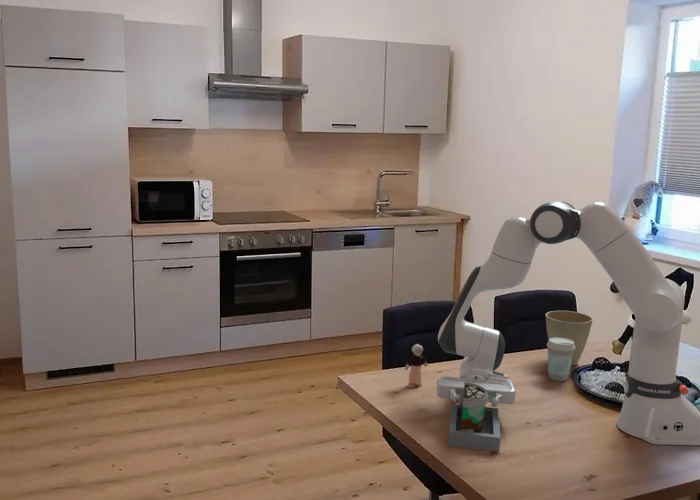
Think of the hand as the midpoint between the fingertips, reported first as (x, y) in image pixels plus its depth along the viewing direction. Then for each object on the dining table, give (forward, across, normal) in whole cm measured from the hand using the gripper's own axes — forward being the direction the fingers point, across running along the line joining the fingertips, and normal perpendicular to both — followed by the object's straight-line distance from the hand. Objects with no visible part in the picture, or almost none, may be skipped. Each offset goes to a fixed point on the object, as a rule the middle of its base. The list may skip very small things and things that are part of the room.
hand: (475, 401), depth 172 cm
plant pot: (-62, +30, +8) cm, 69 cm away
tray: (+2, 0, +8) cm, 8 cm away
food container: (+2, 0, +7) cm, 7 cm away
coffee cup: (-46, +26, +8) cm, 53 cm away
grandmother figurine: (-28, -17, +8) cm, 33 cm away
